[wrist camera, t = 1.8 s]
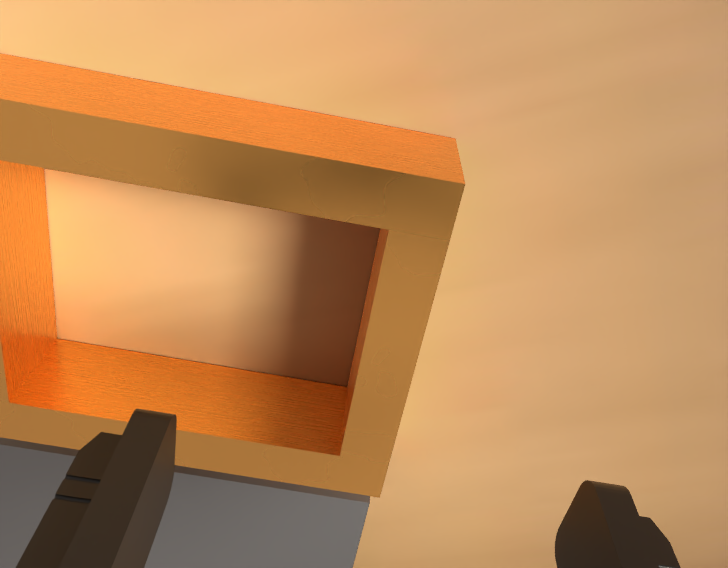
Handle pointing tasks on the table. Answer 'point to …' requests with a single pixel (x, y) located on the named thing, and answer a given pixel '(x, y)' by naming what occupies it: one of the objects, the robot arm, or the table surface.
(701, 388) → the table surface
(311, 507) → the plate
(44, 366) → the link ring
